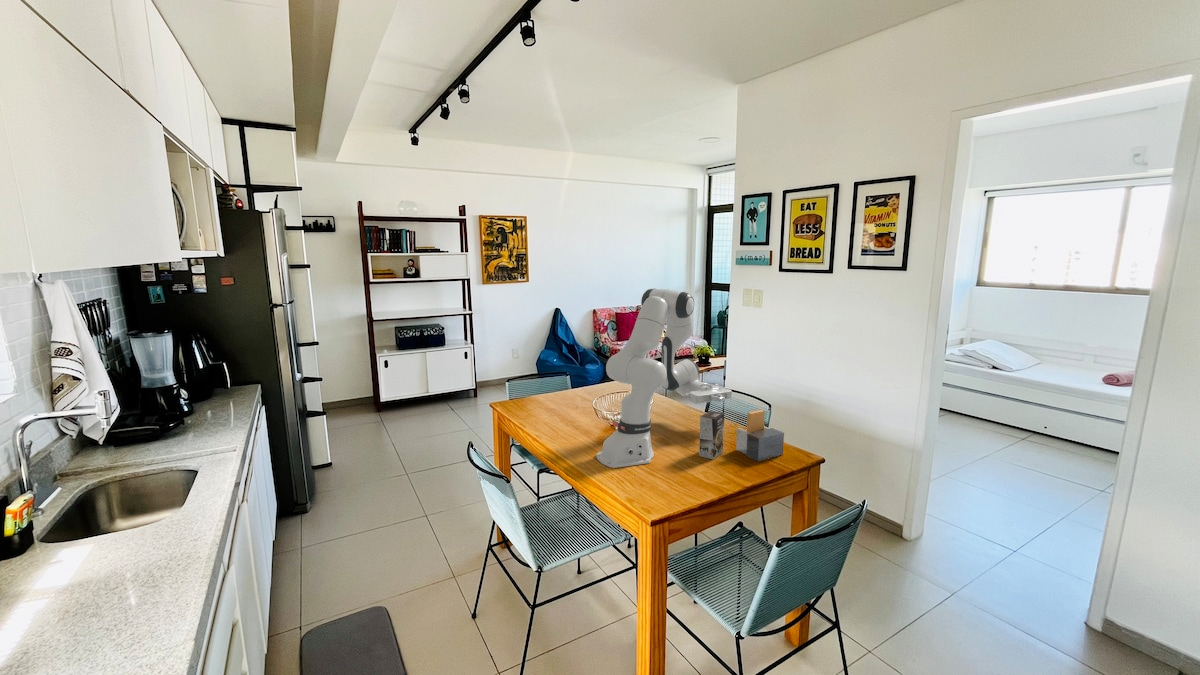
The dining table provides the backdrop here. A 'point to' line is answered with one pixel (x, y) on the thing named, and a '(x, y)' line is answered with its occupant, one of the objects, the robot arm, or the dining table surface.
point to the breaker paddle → (755, 421)
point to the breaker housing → (760, 443)
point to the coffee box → (711, 434)
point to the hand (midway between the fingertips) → (722, 399)
